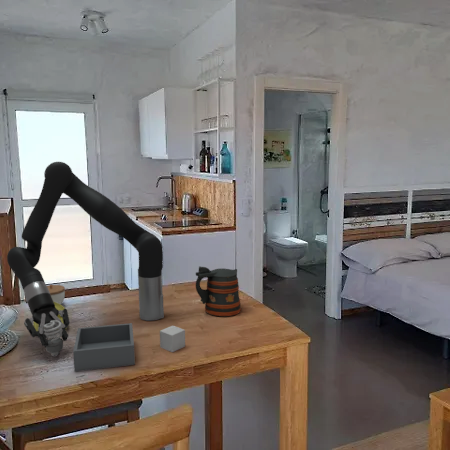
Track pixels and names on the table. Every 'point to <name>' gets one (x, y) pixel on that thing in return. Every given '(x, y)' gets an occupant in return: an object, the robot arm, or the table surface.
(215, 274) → the beer stein
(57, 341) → the light bulb
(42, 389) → the table surface
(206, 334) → the table surface
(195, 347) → the table surface
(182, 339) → the light grey cube
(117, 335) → the bin
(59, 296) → the lidded jar
